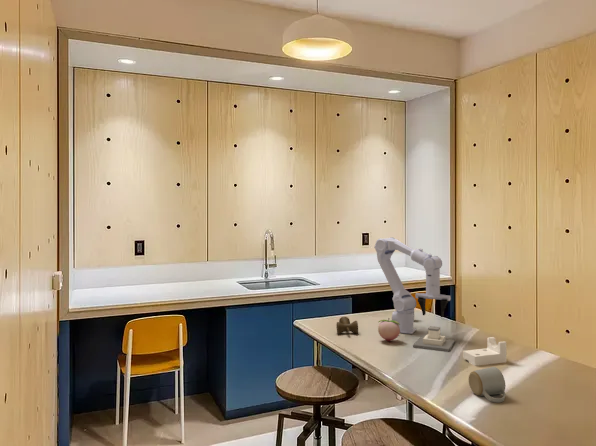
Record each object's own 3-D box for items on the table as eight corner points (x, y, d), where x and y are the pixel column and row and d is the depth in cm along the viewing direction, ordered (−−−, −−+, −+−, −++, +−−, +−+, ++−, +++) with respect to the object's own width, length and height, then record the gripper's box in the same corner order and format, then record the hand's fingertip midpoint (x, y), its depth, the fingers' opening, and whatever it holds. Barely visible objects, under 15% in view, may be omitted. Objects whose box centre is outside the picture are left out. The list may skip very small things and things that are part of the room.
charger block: (428, 342, 189) (428, 328, 188) (430, 340, 192) (430, 326, 192) (438, 344, 187) (438, 329, 186) (440, 341, 190) (440, 327, 190)
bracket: (493, 356, 173) (493, 337, 173) (506, 362, 166) (506, 342, 166) (462, 360, 170) (462, 340, 170) (474, 366, 163) (474, 345, 163)
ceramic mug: (466, 390, 141) (466, 365, 141) (490, 387, 143) (490, 363, 143) (487, 405, 131) (487, 378, 130) (513, 402, 133) (513, 375, 132)
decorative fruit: (376, 343, 192) (376, 319, 192) (378, 338, 200) (378, 315, 200) (400, 345, 190) (399, 320, 189) (401, 339, 198) (400, 316, 197)
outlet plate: (412, 347, 186) (412, 339, 186) (420, 338, 199) (420, 331, 199) (448, 351, 180) (448, 344, 180) (454, 342, 192) (454, 335, 192)
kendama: (354, 327, 223) (360, 337, 203) (334, 328, 223) (338, 338, 203) (353, 314, 223) (359, 323, 203) (334, 315, 223) (337, 324, 203)
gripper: (413, 284, 200) (413, 316, 200) (448, 287, 193) (448, 319, 193) (417, 282, 206) (418, 312, 206) (451, 284, 199) (451, 315, 199)
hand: (433, 315), depth 200 cm, fingers open, 7 cm apart
